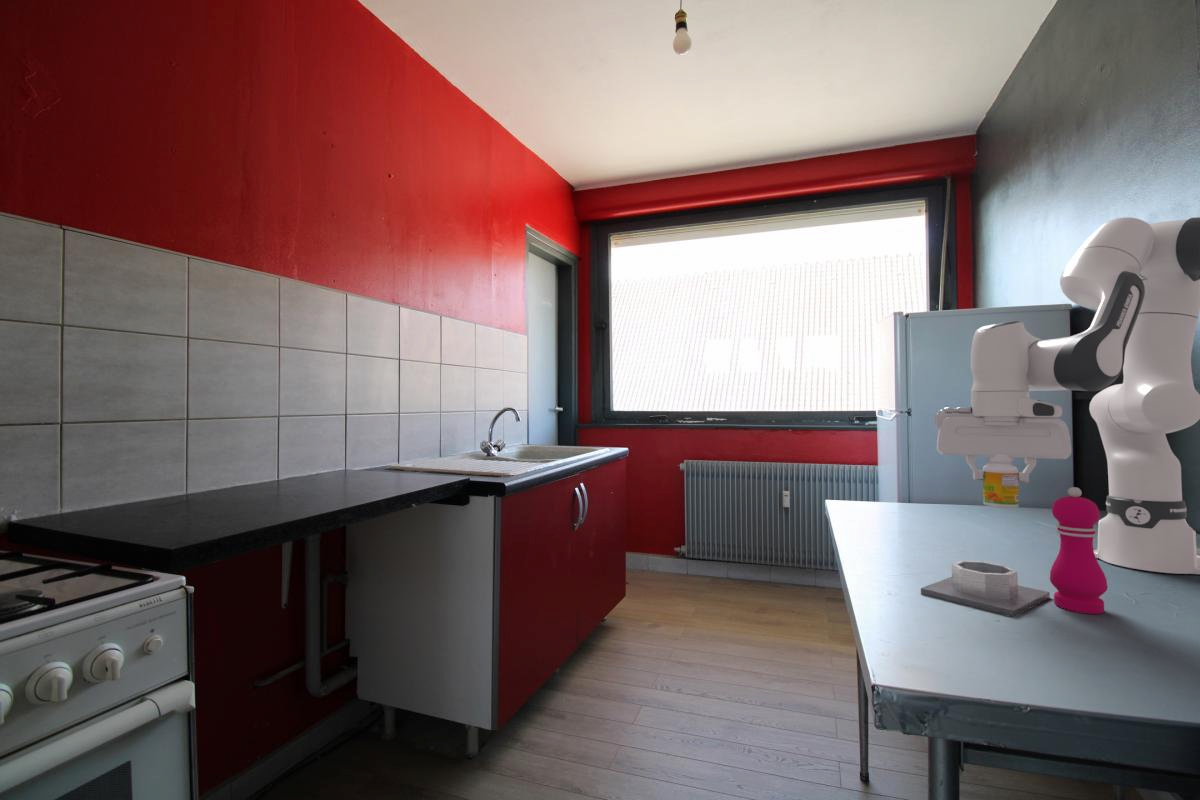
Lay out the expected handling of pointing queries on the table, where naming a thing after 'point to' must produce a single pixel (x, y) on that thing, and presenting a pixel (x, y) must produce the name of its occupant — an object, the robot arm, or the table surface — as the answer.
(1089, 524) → the pepper mill
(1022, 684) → the table surface
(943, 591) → the collar
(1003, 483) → the supplement bottle
